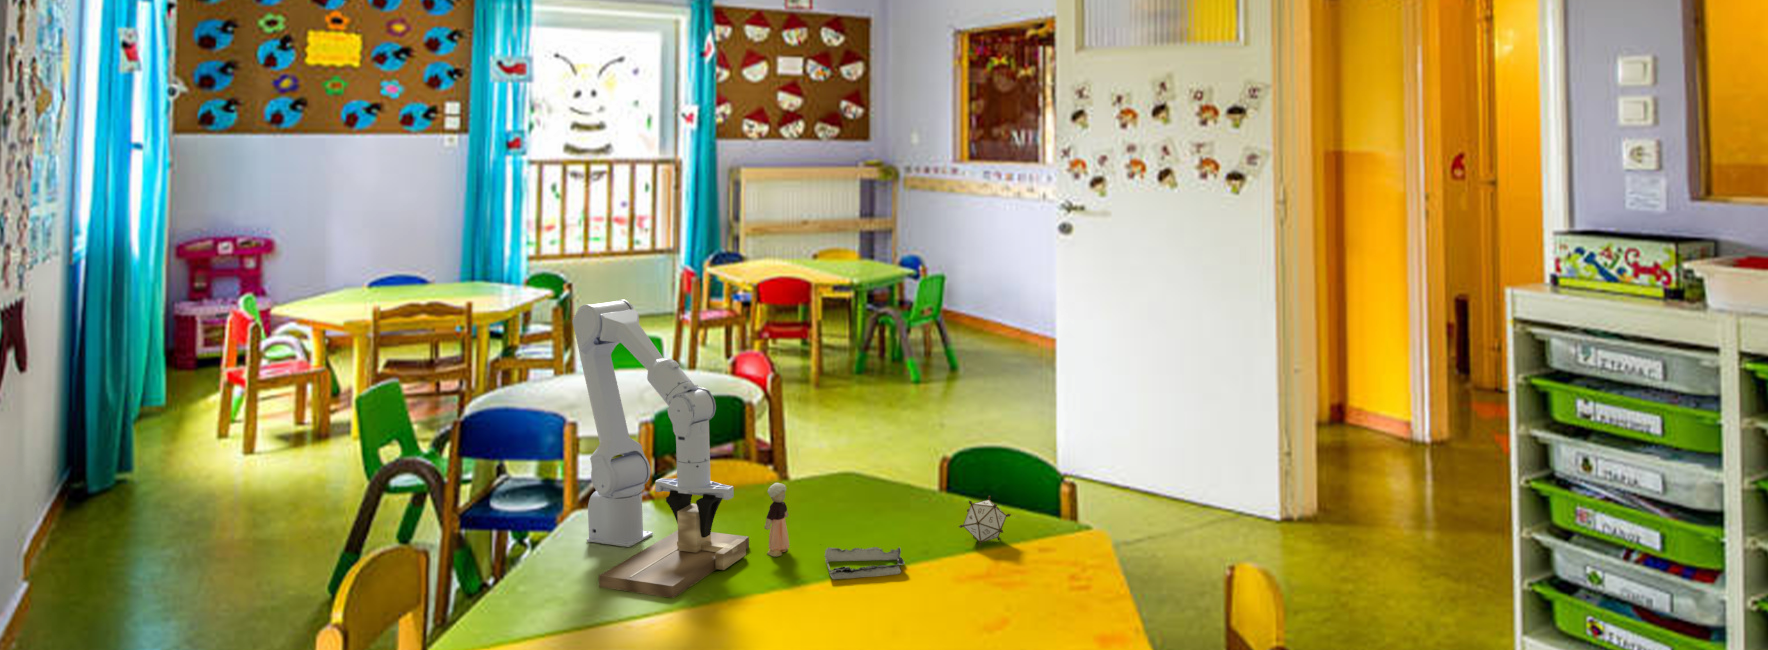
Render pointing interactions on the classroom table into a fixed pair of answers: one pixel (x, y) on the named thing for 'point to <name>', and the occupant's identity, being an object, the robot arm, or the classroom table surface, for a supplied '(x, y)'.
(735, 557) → the beige l-shaped block
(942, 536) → the classroom table surface
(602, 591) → the classroom table surface
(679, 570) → the board
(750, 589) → the classroom table surface
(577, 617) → the classroom table surface
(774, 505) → the grandmother figurine
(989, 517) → the game die
